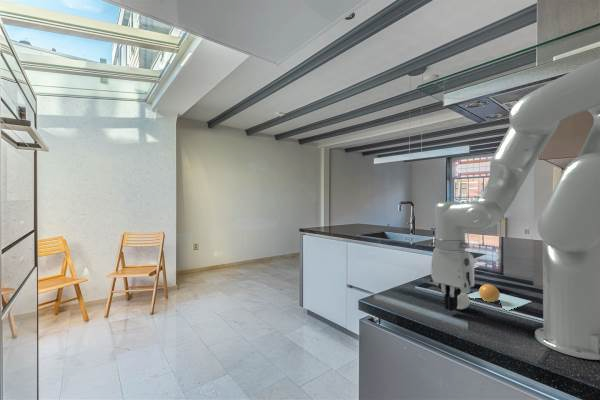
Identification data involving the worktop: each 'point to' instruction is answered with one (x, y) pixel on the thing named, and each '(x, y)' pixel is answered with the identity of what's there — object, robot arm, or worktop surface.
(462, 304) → the cue ball
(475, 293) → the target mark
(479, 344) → the worktop surface
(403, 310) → the worktop surface
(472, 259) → the can
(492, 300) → the object ball
